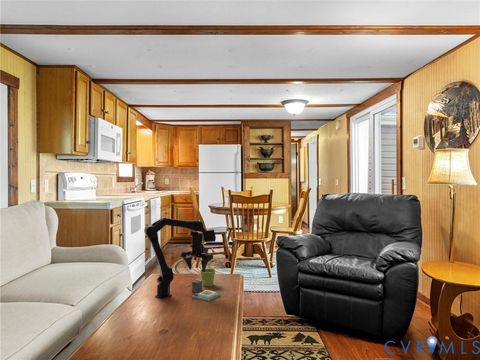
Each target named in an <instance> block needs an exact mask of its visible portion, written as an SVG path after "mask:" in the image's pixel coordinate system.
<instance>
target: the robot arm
mask: <svg viewBox="0 0 480 360" xmlns="http://www.w3.org/2000/svg"><path fill="white" fill-rule="evenodd" d="M165 226H169V227H171V226H172V227H177V228H185V229H189V230H190V231H189V232H188V233H187V234H188V235H189V236H191V244H189V247H190V248H191V250H184V251H182V252H181V253H180V258H182V259H183V260H184V262H185V263H186V265H187V267H188V270H189V271H191V270H192V263H193V261H192V260H193V258H200V259H201V261H200V263H201V270H202V271H203V272H205V269H207V265H208V263H209V262H210V261H212V260H213V259H214V254H213V253H209V249H210V248H209V247H205V246H204V244H203V242H204V243H214V242H216V240H217V237H216V233H215V229H208V230H207V229H205V227H204V224H203V222H202V221H200V220H197V219H190V220H186V219H185V220H183V219H176V218H170V217H165V216H164V217H160V219H158V220H156V221H154V222H153V223H151V224H148V225H146V226H145V227H144V230H143V231H144V233H145V236H146V237H147V239H148V240H149V242H150V244H151V246H152V249H153V252H154V255H155V257H156V261H157V263H158V266H159V274H160V275H159V277H158V278H157V279H156V282H157V286H156V287H157V289H156V290H157V291H156V295H154V297H155V298H159V299H167V298H169V297H171V296H172V295H173V294H171V286H170V285H171V283H172V282H173V281H174V278H175V277H174V275H175V273H174V271H173V268H172V266H171V265H170V264H169V265H167V261H166V259H165V255H164V253H163V250H162V247H161V244H160V241H159V233H158V232H159V231H161V230H162V229H163V228H164V227H165Z"/></svg>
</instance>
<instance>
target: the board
mask: <svg viewBox="0 0 480 360" xmlns="http://www.w3.org/2000/svg"><path fill="white" fill-rule="evenodd" d="M218 297H220V293H218V292H217V291H213V290H208V289H206V290H203V289H202V291H200V292H199V293H194V294H193V295H191V298H192V299H196V300H200V301H205V302H211V301H212V300H214V299H216V298H218Z"/></svg>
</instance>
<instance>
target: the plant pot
mask: <svg viewBox="0 0 480 360" xmlns="http://www.w3.org/2000/svg"><path fill="white" fill-rule="evenodd" d="M199 272H200V275H201V280H202V287H212V286H214V281H215V274H216V272H217V269H215V268H206V269H205V272H203V271H202V269H200V270H199Z"/></svg>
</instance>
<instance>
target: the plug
mask: <svg viewBox="0 0 480 360" xmlns="http://www.w3.org/2000/svg"><path fill="white" fill-rule="evenodd" d="M202 290H203V282H202V279H197V278H196V279H195V280H193V281H191V292H192V293H194V294H196V293H199V292H200V291H202Z"/></svg>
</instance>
